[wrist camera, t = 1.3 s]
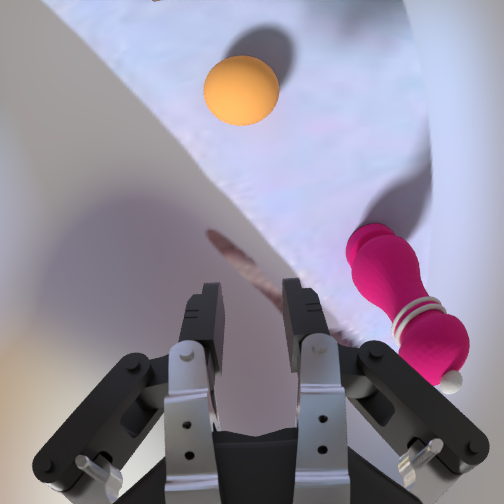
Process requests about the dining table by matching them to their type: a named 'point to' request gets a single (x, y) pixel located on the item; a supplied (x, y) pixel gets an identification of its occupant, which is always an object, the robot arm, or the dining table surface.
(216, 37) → the dining table surface
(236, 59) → the ball
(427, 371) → the pepper mill
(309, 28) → the dining table surface
